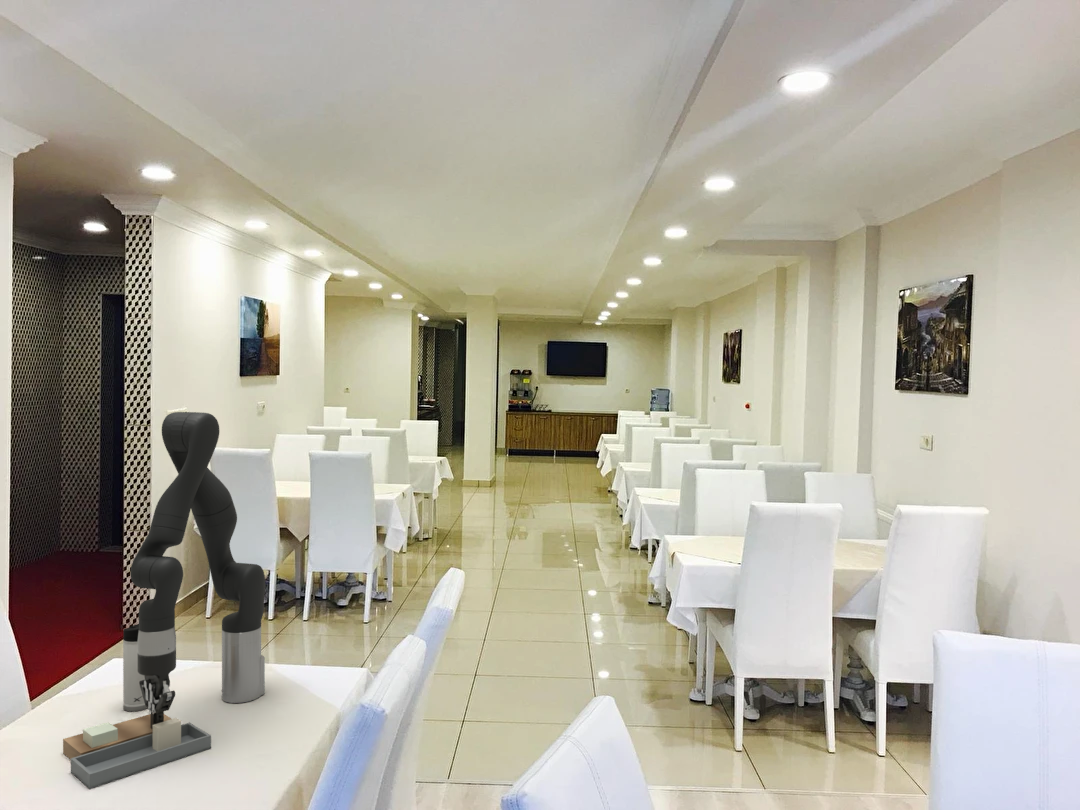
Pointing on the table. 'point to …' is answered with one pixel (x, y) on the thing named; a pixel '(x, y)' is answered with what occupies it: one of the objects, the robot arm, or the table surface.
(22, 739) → the table surface
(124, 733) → the walnut board
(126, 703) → the travel mug
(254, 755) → the table surface
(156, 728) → the tile
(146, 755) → the tray
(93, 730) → the tile
